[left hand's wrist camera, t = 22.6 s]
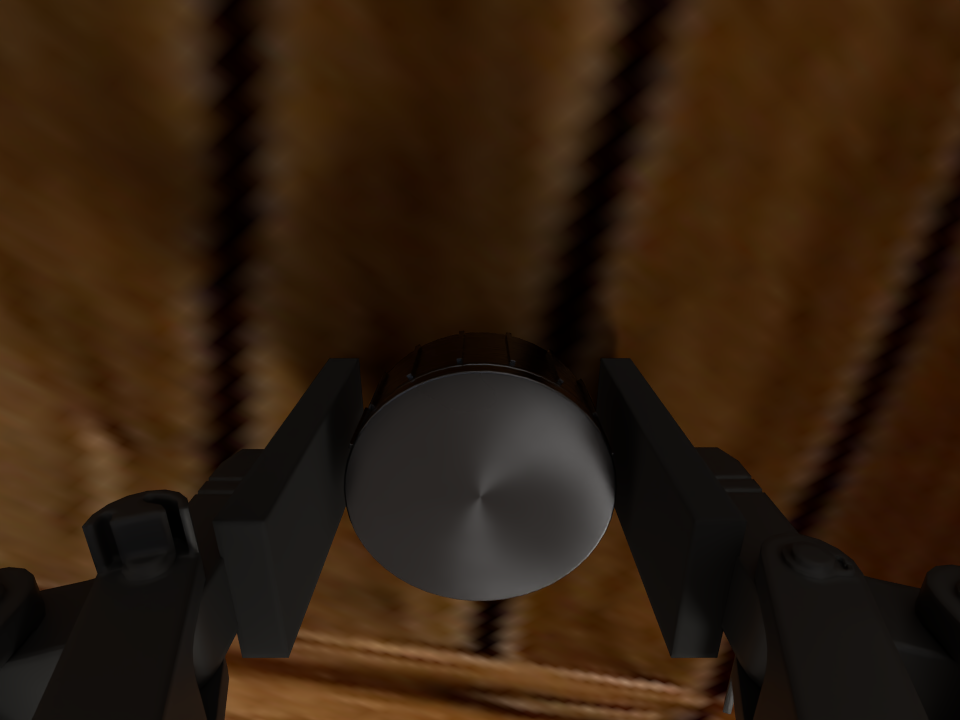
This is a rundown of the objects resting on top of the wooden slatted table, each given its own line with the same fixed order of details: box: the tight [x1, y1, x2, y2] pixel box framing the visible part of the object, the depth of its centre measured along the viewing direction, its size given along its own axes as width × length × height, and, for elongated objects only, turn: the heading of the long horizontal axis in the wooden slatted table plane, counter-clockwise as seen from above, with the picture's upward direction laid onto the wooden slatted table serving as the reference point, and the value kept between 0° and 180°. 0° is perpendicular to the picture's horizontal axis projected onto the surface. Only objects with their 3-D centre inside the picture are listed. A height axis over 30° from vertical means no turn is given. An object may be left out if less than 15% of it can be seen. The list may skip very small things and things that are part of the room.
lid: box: [344, 331, 617, 601], centre depth 12 cm, size 6×6×2 cm
